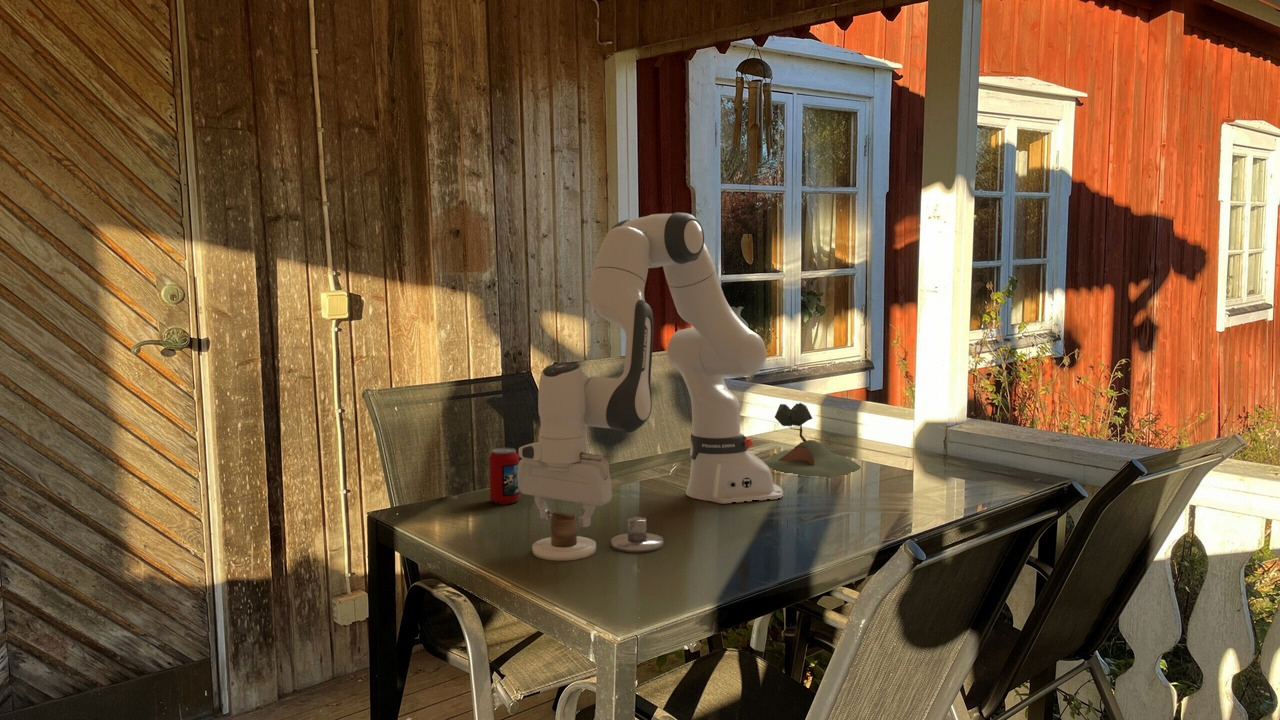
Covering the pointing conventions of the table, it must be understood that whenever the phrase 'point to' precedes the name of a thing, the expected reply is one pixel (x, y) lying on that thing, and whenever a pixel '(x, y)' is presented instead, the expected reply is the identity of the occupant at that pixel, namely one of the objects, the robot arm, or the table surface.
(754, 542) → the table surface
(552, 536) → the cap
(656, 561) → the table surface
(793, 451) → the plant
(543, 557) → the saucer
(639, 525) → the pedestal
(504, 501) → the beverage can
